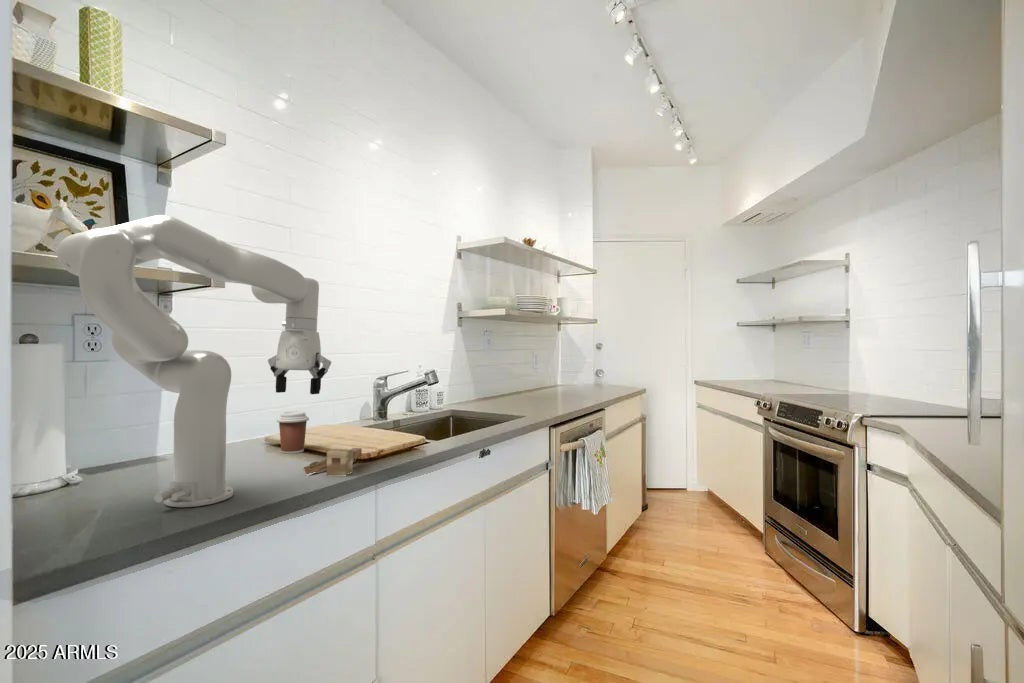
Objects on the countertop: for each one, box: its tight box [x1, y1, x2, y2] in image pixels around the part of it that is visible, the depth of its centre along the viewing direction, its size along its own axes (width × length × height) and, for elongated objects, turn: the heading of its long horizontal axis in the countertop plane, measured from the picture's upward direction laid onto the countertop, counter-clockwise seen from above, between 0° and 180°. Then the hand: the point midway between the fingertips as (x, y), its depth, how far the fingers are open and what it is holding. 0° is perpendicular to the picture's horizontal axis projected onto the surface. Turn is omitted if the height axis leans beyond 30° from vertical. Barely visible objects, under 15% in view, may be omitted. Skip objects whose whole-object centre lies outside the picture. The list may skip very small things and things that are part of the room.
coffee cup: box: [276, 410, 310, 455], centre depth 155 cm, size 9×9×12 cm
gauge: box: [326, 447, 363, 476], centre depth 134 cm, size 12×5×6 cm, turn 171°
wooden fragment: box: [303, 458, 357, 474], centre depth 140 cm, size 26×11×1 cm, turn 167°
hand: (297, 393), depth 128 cm, fingers open, 9 cm apart
